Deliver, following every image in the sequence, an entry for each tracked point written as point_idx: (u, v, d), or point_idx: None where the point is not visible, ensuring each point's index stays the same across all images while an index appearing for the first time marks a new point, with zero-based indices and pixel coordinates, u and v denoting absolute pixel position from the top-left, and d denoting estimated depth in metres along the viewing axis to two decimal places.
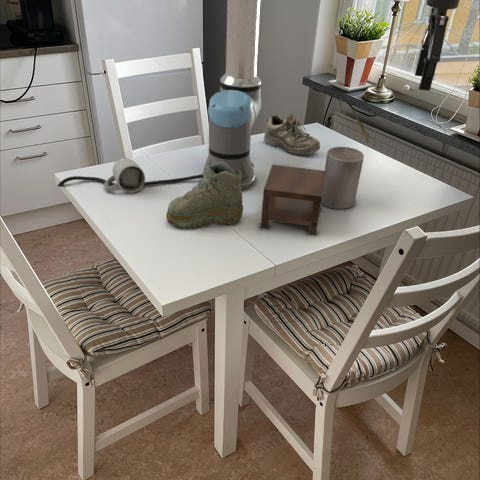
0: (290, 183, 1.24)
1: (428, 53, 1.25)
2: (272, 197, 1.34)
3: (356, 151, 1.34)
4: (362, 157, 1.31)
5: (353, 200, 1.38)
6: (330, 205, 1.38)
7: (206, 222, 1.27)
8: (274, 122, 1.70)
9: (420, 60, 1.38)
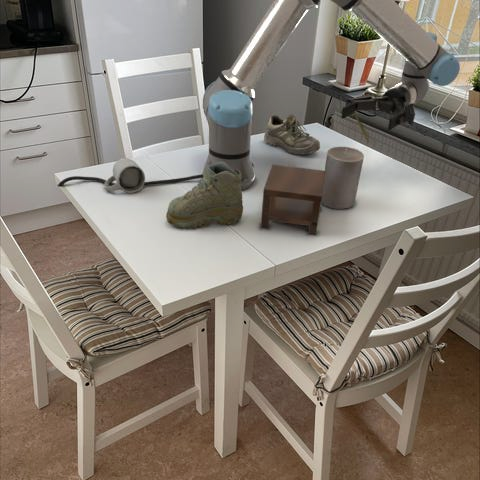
0: (290, 183, 1.24)
1: (403, 111, 1.36)
2: (272, 197, 1.34)
3: (356, 151, 1.34)
4: (362, 157, 1.31)
5: (353, 200, 1.38)
6: (330, 205, 1.38)
7: (206, 222, 1.27)
8: (274, 122, 1.70)
9: (351, 106, 1.39)
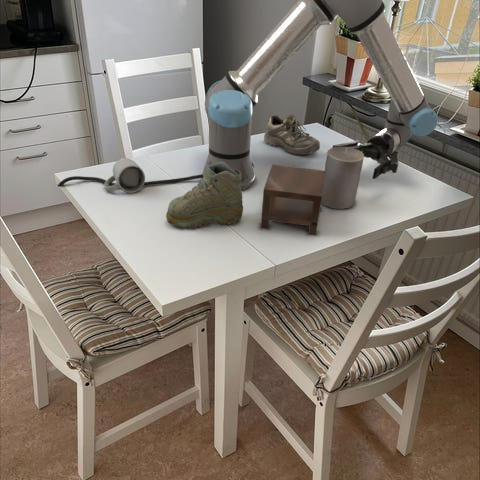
0: (290, 183, 1.24)
1: (386, 160, 1.42)
2: (272, 197, 1.34)
3: (356, 151, 1.34)
4: (362, 157, 1.31)
5: (353, 200, 1.38)
6: (330, 205, 1.38)
7: (206, 222, 1.27)
8: (274, 122, 1.70)
9: None
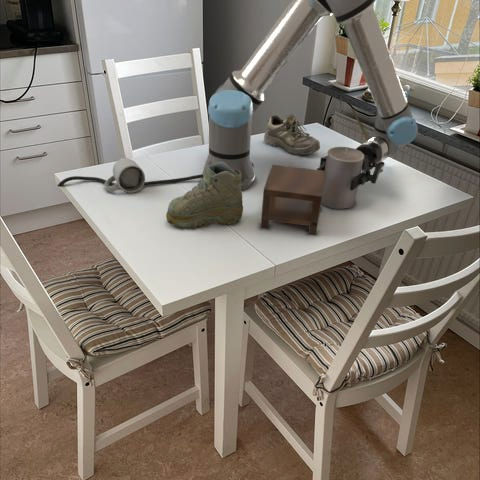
0: (290, 183, 1.24)
1: (366, 170, 1.36)
2: (272, 197, 1.34)
3: (356, 151, 1.34)
4: (362, 157, 1.31)
5: (353, 200, 1.38)
6: (330, 205, 1.38)
7: (206, 222, 1.27)
8: (274, 122, 1.70)
9: None
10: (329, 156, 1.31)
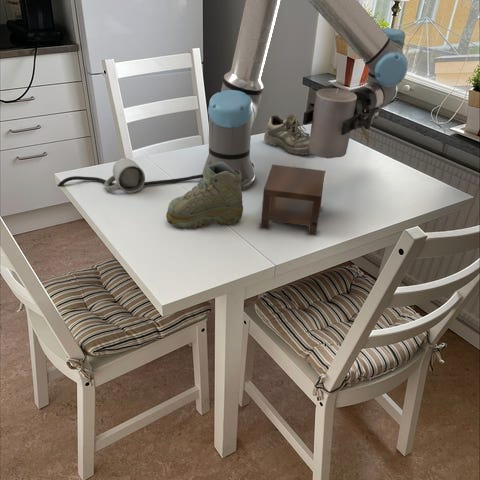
0: (290, 183, 1.24)
1: None
2: (272, 197, 1.34)
3: (347, 92, 1.20)
4: (355, 97, 1.17)
5: (345, 149, 1.24)
6: (319, 154, 1.24)
7: (206, 222, 1.27)
8: (274, 122, 1.70)
9: None
10: (318, 96, 1.18)
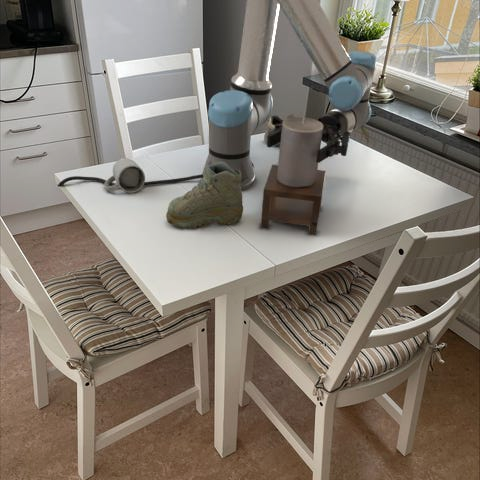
0: None
1: (335, 141, 1.20)
2: (272, 197, 1.34)
3: (314, 121, 1.19)
4: (321, 128, 1.16)
5: (313, 177, 1.23)
6: (287, 183, 1.23)
7: (206, 222, 1.27)
8: (274, 122, 1.70)
9: (279, 133, 1.23)
10: (283, 126, 1.17)
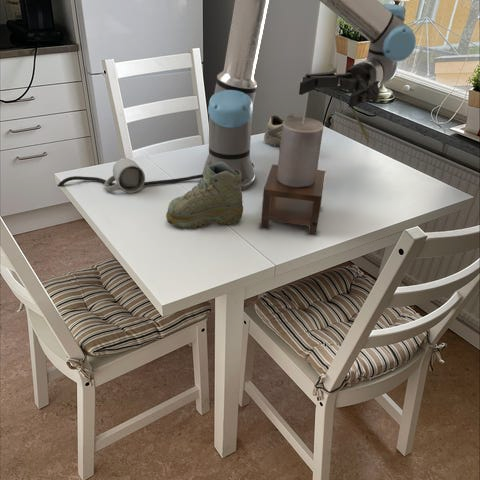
0: None
1: (366, 88, 1.23)
2: (272, 197, 1.34)
3: (314, 121, 1.19)
4: (321, 128, 1.16)
5: (313, 177, 1.23)
6: (287, 183, 1.23)
7: (206, 222, 1.27)
8: (274, 122, 1.70)
9: (310, 81, 1.26)
10: (284, 126, 1.17)
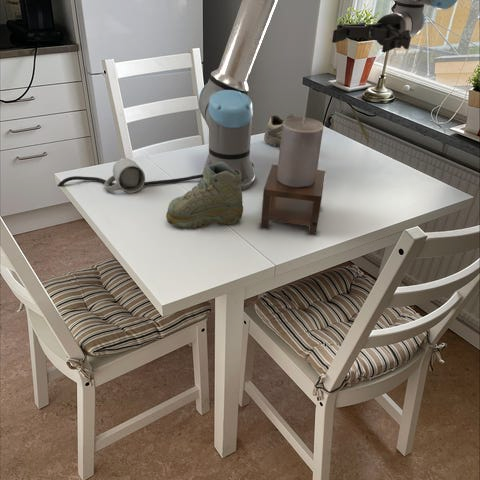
0: None
1: (398, 35, 1.26)
2: (272, 197, 1.34)
3: (315, 121, 1.19)
4: (321, 128, 1.16)
5: (313, 177, 1.23)
6: (287, 183, 1.23)
7: (206, 222, 1.27)
8: (274, 122, 1.70)
9: (343, 30, 1.29)
10: (284, 126, 1.17)
